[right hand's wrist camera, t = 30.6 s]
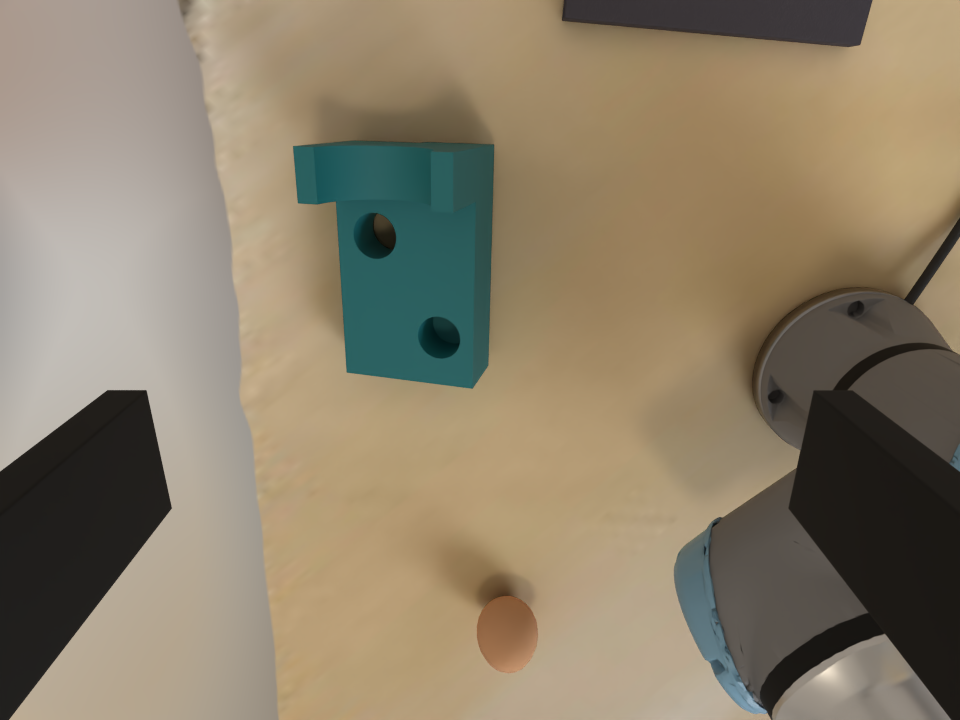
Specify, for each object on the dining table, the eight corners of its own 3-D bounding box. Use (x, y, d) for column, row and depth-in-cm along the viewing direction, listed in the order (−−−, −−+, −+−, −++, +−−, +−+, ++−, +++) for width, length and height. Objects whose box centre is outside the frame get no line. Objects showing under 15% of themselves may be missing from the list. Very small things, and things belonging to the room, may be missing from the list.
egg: (543, 590, 65) (551, 651, 58) (522, 632, 67) (527, 697, 60) (488, 574, 64) (489, 634, 57) (469, 617, 66) (467, 681, 59)
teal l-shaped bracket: (362, 139, 50) (293, 146, 41) (494, 144, 48) (453, 152, 38) (371, 351, 57) (314, 399, 47) (488, 365, 54) (452, 418, 45)
